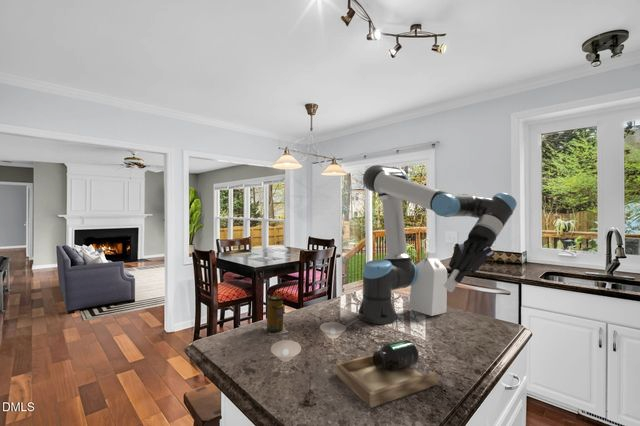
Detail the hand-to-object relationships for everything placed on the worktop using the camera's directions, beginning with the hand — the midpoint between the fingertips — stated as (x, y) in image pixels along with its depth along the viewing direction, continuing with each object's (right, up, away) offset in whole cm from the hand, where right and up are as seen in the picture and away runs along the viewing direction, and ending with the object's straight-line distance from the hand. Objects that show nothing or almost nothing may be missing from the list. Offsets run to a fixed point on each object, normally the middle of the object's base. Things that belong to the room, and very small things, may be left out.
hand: (447, 288), depth 95 cm
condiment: (-55, -21, +22) cm, 63 cm away
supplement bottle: (-12, -18, -3) cm, 22 cm away
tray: (-21, -22, -11) cm, 32 cm away
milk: (+9, -21, +45) cm, 50 cm away
